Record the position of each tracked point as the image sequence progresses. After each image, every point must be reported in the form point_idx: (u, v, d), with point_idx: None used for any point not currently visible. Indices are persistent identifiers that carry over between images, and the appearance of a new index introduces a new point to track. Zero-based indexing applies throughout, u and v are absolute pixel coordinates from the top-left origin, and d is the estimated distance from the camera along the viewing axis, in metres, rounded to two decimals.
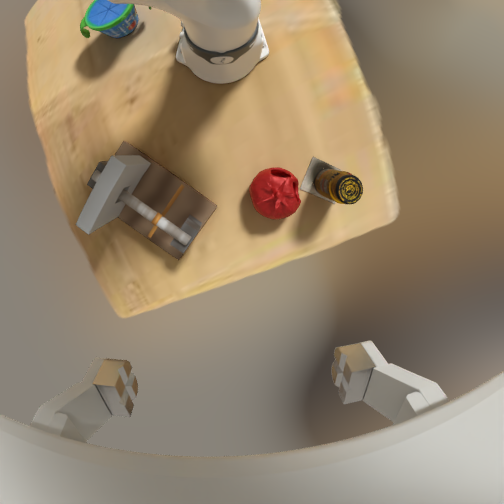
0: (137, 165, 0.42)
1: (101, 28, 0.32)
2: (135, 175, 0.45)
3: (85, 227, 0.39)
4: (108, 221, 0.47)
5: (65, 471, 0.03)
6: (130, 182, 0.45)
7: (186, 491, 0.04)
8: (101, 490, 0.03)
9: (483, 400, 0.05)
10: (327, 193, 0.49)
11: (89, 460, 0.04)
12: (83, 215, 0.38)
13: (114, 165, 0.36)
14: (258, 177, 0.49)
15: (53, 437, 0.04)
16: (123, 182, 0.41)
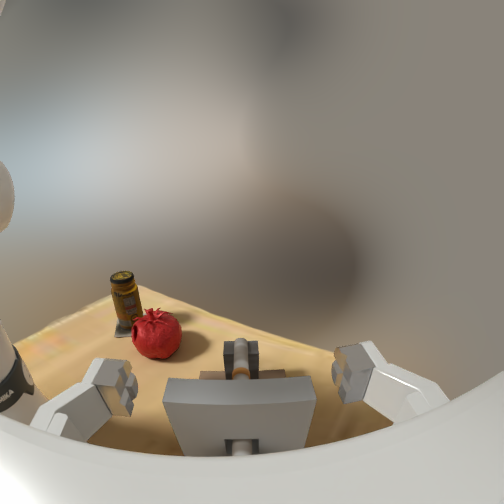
0: None
1: None
2: None
3: (304, 384, 0.22)
4: None
5: (65, 471, 0.03)
6: None
7: (186, 491, 0.04)
8: (101, 490, 0.03)
9: (483, 400, 0.05)
10: (134, 297, 0.53)
11: (89, 460, 0.04)
12: (289, 396, 0.21)
13: (175, 391, 0.21)
14: (146, 341, 0.44)
15: (53, 437, 0.04)
16: None
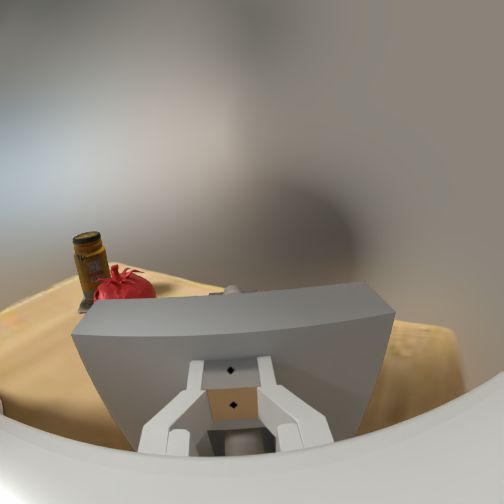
0: None
1: None
2: None
3: (361, 292, 0.12)
4: None
5: (65, 471, 0.03)
6: None
7: (186, 491, 0.04)
8: (101, 490, 0.03)
9: (483, 400, 0.05)
10: (100, 260, 0.41)
11: (89, 460, 0.04)
12: (340, 311, 0.10)
13: (101, 318, 0.10)
14: None
15: (53, 437, 0.04)
16: None
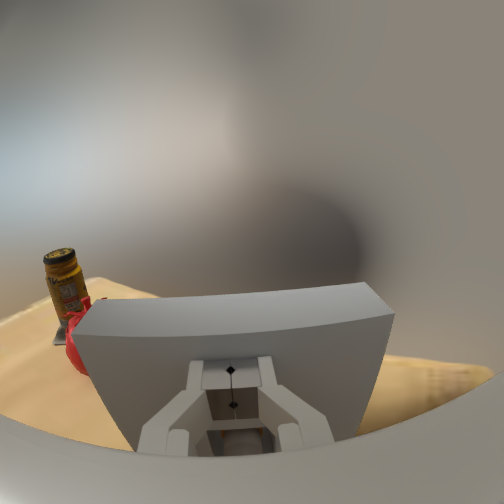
0: None
1: None
2: None
3: (360, 293, 0.12)
4: None
5: (65, 471, 0.03)
6: None
7: (186, 491, 0.04)
8: (101, 490, 0.03)
9: (483, 400, 0.05)
10: (75, 284, 0.32)
11: (89, 460, 0.04)
12: (339, 312, 0.10)
13: (101, 318, 0.10)
14: None
15: (53, 437, 0.04)
16: None
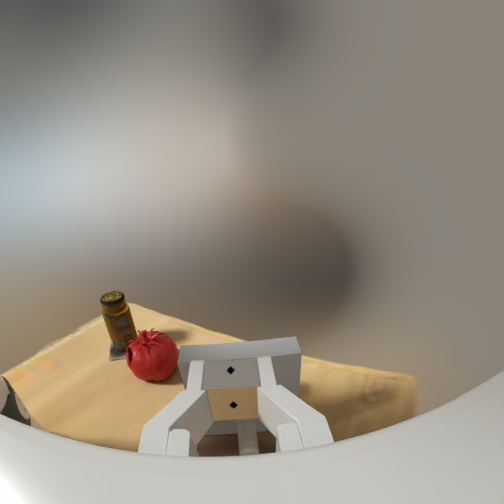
0: None
1: None
2: None
3: (291, 342, 0.29)
4: None
5: (65, 471, 0.03)
6: None
7: (186, 491, 0.04)
8: (101, 490, 0.03)
9: (483, 400, 0.05)
10: (126, 317, 0.50)
11: (89, 460, 0.04)
12: (279, 351, 0.28)
13: (187, 354, 0.28)
14: (141, 364, 0.40)
15: (53, 437, 0.04)
16: None
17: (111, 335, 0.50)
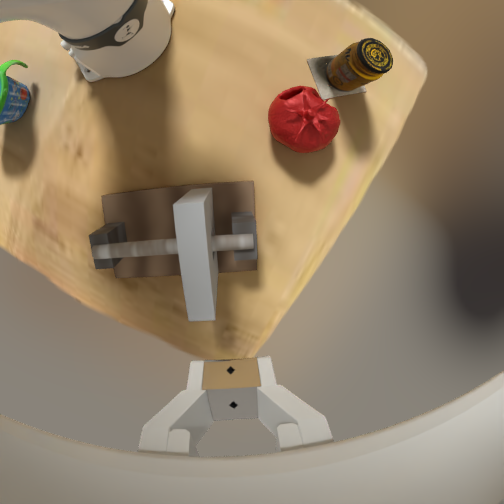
0: (208, 196, 0.32)
1: None
2: (210, 211, 0.35)
3: (204, 315, 0.30)
4: None
5: (65, 471, 0.03)
6: (211, 223, 0.35)
7: (186, 491, 0.04)
8: (101, 490, 0.03)
9: (483, 400, 0.05)
10: (356, 78, 0.30)
11: (89, 460, 0.04)
12: (191, 303, 0.29)
13: (186, 213, 0.26)
14: (273, 113, 0.33)
15: (53, 437, 0.04)
16: (208, 227, 0.31)
17: (335, 58, 0.32)
